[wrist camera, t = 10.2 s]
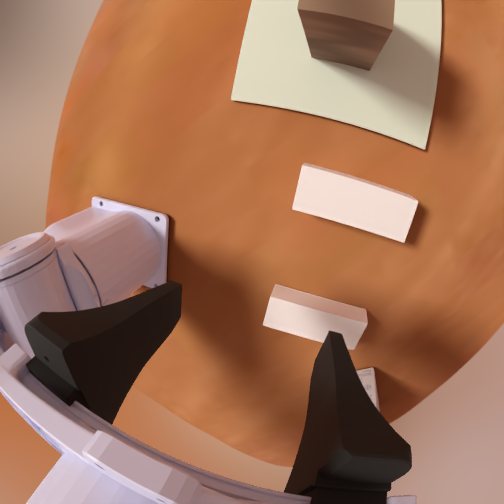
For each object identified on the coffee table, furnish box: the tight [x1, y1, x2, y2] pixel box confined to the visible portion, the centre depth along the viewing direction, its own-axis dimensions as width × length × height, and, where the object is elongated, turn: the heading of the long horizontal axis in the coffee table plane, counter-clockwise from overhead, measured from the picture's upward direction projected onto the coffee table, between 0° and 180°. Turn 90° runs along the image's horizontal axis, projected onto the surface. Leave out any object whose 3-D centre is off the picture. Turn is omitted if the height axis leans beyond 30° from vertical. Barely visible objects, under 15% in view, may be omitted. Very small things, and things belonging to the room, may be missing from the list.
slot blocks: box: [263, 163, 419, 350], centre depth 20 cm, size 8×13×2 cm, turn 170°
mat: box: [231, 0, 442, 150], centre depth 13 cm, size 14×14×1 cm
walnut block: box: [297, 0, 395, 71], centre depth 10 cm, size 4×5×8 cm
